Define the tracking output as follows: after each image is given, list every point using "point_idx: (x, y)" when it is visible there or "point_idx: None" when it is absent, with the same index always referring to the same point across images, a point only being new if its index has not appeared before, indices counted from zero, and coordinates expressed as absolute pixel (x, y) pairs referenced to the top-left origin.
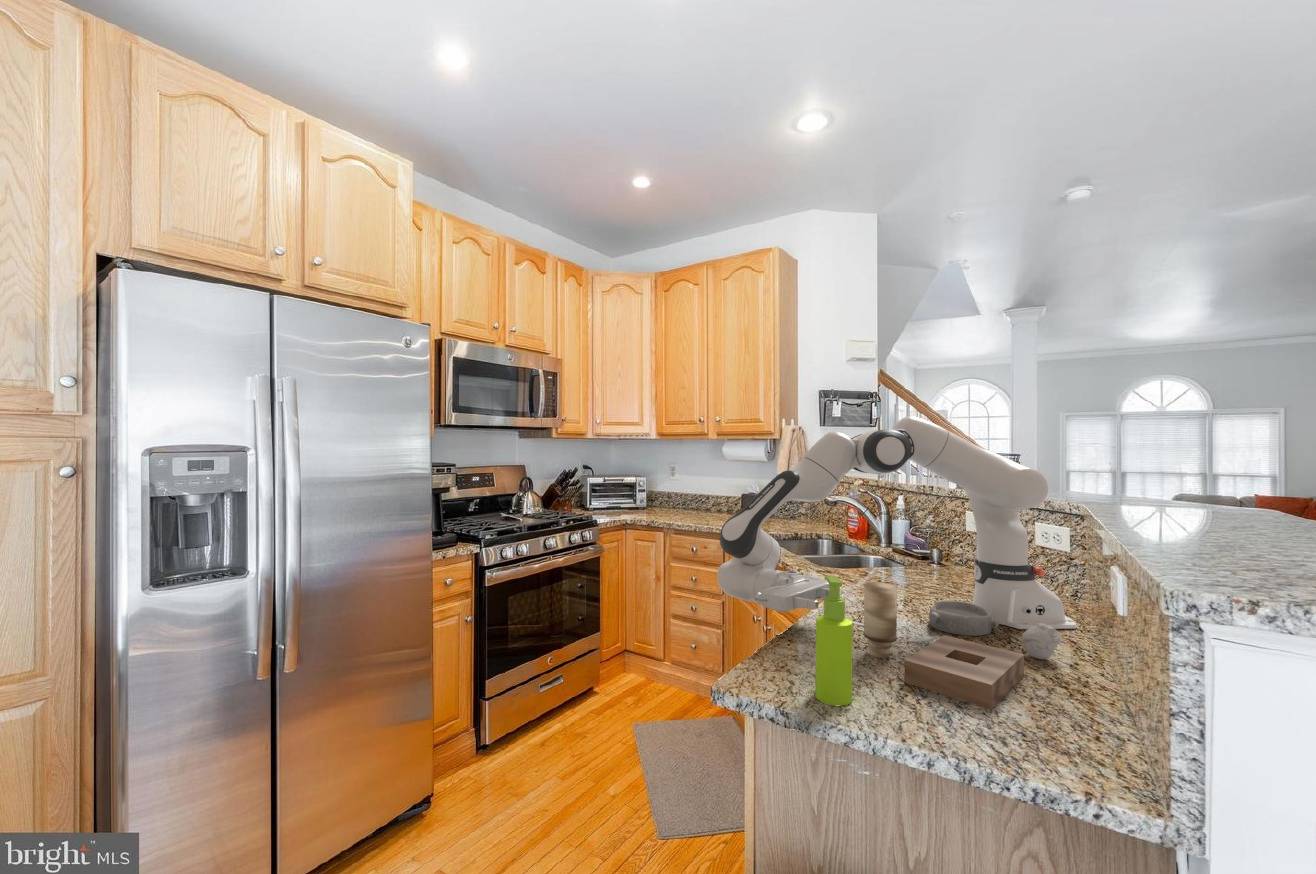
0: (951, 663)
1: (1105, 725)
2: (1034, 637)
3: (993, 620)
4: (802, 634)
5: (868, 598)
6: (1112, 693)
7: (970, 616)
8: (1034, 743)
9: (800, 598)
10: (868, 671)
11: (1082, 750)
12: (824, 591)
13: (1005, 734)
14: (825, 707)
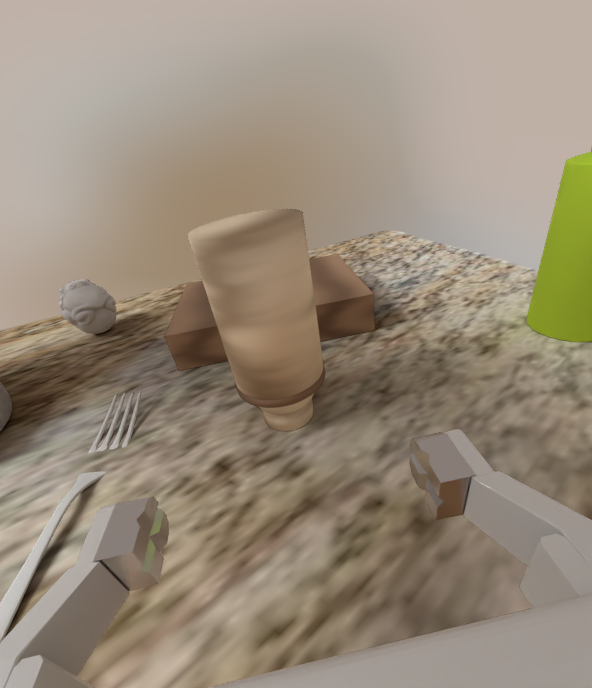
0: (312, 280)
1: None
2: (104, 295)
3: None
4: None
5: (307, 259)
6: (187, 283)
7: None
8: (370, 258)
9: (561, 514)
10: (403, 368)
11: (344, 253)
12: (53, 676)
13: (380, 264)
14: None
